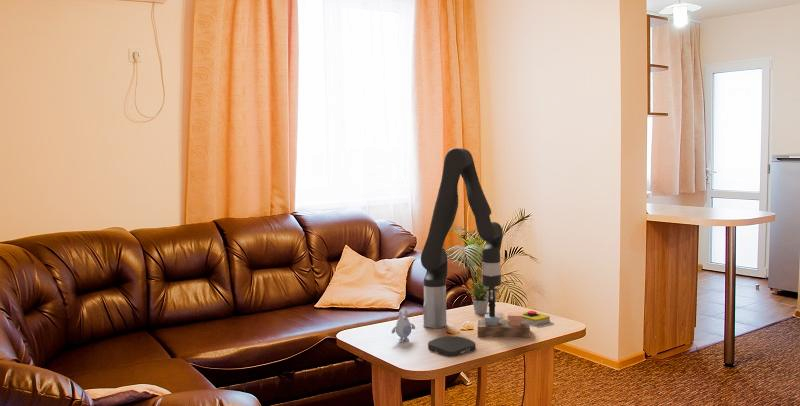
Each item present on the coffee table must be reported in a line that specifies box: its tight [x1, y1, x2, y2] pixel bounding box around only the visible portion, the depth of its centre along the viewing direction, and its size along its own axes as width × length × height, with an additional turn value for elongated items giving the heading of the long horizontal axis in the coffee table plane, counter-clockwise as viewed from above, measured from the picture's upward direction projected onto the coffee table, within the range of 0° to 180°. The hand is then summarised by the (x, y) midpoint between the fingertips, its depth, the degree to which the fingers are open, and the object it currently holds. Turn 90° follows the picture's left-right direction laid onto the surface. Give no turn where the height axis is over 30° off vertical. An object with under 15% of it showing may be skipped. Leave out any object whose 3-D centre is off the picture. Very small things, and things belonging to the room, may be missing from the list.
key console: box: [477, 319, 531, 339], centre depth 232 cm, size 20×10×4 cm, turn 81°
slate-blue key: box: [484, 313, 500, 325], centre depth 232 cm, size 6×6×4 cm
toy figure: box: [391, 309, 416, 343], centre depth 225 cm, size 11×6×12 cm, turn 121°
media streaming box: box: [427, 335, 477, 358], centre depth 215 cm, size 15×15×3 cm
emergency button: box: [521, 310, 554, 328], centre depth 248 cm, size 9×4×15 cm
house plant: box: [467, 276, 489, 315], centre depth 261 cm, size 14×14×16 cm
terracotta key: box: [507, 311, 523, 326], centre depth 231 cm, size 6×6×4 cm
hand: (492, 316), depth 232 cm, fingers closed
